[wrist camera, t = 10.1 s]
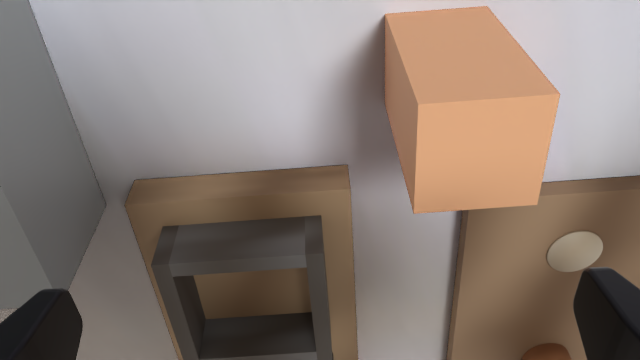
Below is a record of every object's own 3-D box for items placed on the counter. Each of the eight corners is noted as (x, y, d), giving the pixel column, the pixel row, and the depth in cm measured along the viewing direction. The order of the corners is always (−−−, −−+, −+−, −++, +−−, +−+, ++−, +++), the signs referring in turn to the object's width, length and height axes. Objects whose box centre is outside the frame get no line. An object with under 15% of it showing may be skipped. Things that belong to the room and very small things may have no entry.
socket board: (347, 164, 21) (355, 225, 18) (358, 407, 30) (364, 472, 27) (134, 180, 21) (108, 243, 18) (212, 416, 30) (202, 483, 27)
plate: (698, 171, 21) (766, 237, 18) (615, 374, 29) (653, 445, 26) (464, 188, 21) (492, 256, 18) (443, 385, 29) (460, 457, 26)
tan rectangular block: (487, 5, 17) (560, 93, 12) (477, 97, 19) (537, 205, 14) (384, 13, 17) (418, 104, 13) (384, 104, 19) (413, 213, 14)
